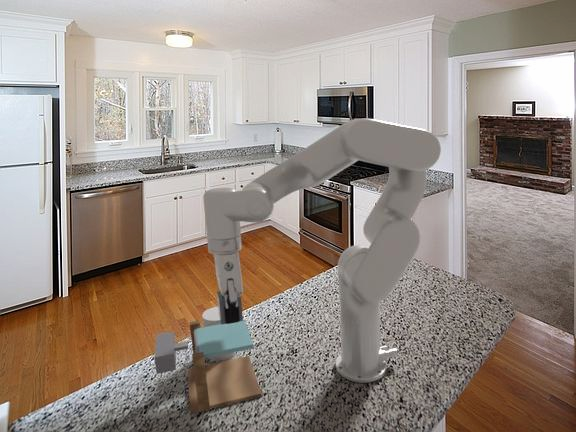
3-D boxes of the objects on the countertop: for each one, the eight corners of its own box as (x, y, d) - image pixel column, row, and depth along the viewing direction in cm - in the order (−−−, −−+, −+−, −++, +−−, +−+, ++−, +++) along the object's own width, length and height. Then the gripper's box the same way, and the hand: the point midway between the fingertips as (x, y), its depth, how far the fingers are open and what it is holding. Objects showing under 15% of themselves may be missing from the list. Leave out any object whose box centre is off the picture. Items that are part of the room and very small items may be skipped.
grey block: (239, 311, 92) (237, 288, 91) (242, 320, 87) (241, 296, 86) (218, 314, 91) (216, 291, 89) (221, 324, 86) (219, 300, 85)
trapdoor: (244, 329, 98) (243, 315, 97) (254, 356, 86) (253, 340, 85) (158, 346, 92) (156, 331, 91) (156, 377, 80) (154, 360, 79)
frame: (249, 358, 101) (245, 312, 98) (261, 396, 86) (258, 344, 83) (188, 371, 97) (182, 323, 94) (190, 414, 82) (183, 359, 79)
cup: (242, 351, 105) (238, 311, 102) (218, 365, 99) (214, 323, 96) (223, 341, 110) (220, 303, 108) (200, 354, 104) (196, 314, 102)
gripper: (247, 252, 78) (253, 331, 82) (235, 232, 94) (240, 299, 98) (211, 256, 76) (218, 338, 80) (204, 235, 92) (211, 304, 96)
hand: (230, 316), depth 89 cm, fingers closed on grey block, 5 cm apart
